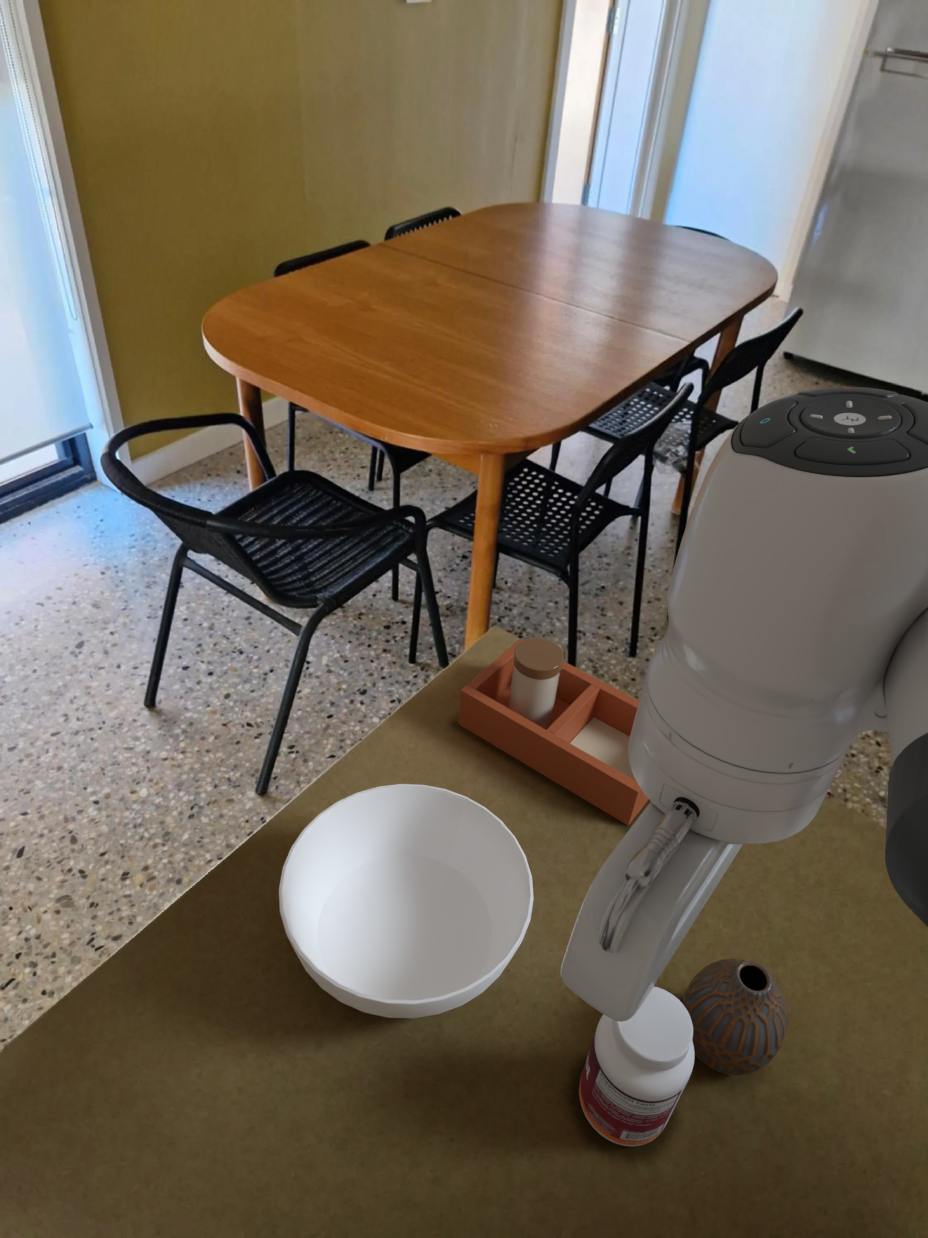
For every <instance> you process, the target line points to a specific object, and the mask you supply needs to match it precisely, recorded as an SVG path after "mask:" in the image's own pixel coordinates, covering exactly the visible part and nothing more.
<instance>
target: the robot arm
mask: <svg viewBox="0 0 928 1238" xmlns="http://www.w3.org/2000/svg"><path fill="white" fill-rule="evenodd" d="M666 609H667V610H666V611H667V618H668V619H667V620H668V623H667V624H668V625H667V630H666V632H665V634H664V636H663V637H662V638H661V639H660V641H659V642H658V644H657V645H656V647H655V648H654V650H653V652H652V654H651V657H650V660H649V662H648V666H647V667H646V672H645V676H644V681H643V684H642V689H641V692H640V696H639V700H638V701H639V703H638V707H637V711H636V715H635V719H634V723H633V726H632V730H631V734H630V738H629V743H628V758H629V764H630V767H631V770H632V773H633V775H634V777H635V780H636V781H637V783H638V785H639V787H640V788H641V789H642V791H643V792H644V794H645V795H646V796H647V797H648V798H649V800H648V801H650V802H649V803H648V804H647V805H646V807H645V808H644V810H643V811H642V812H641V814H640V815H639V816H638V817H637V818H636V820H635V821H634V823H633V824H632V825H631V826H630V828H629V829H628V831H627V832H625V834H624V836H623V837H622V838H621V840H619V842H618V844H617V845H616V846H615V847H614V848H613V849H612V851H611V852H610V853H609V855H608V857H607V858H606V859H605V861H604V863H602V865H601V867H600V868H599V869H598V872H597V874H596V875H595V877H594V879H593V880H592V882H591V884H590V886H589V888H588V890H587V893H586V895H585V896H584V899H583V901H582V903H581V906H580V908H579V911H578V914H577V916H576V919H575V922H574V925H573V928H572V931H571V934H570V936H569V939H568V943H567V946H566V949H565V952H564V954H563V958H562V962H561V965H560V971H559V972H560V973H559V974H560V979H561V981H562V982H563V984H564V985H565V986H566V987H567V988H568V989H569V990H570V991H571V992H572V993H573V994H575V995H576V996H577V997H578V998H580V999H581V1000H582V1001H584V1002H585V1003H587V1005H589V1006H590V1007H592V1008H593V1009H595V1010H597V1011H598V1012H599V1013H601V1014H602V1015H603V1014H604V1015H606V1016H608V1017H609V1018H611V1019H614V1020H616V1021H620V1022H622V1021H627V1020H629V1019H630V1018H632V1017H633V1016H634V1015H635V1014H636V1012H637V1011H638V1010H639V1008H640V1007H641V1005H642V1004H643V1002H644V1001H645V999H646V997H647V996H648V994H649V993H650V991H651V990H652V988H653V987H655V985H656V983H657V982H658V981H659V979H660V977H661V975H662V974H663V972H664V971H665V969H666V968H667V966H668V964H669V963H670V961H671V960H672V958H673V956H674V955H675V953H676V952H677V950H678V948H679V947H680V946H681V943H682V942H683V940H684V939H685V937H686V936H687V934H688V933H689V931H690V930H691V928H692V926H693V924H694V923H695V921H696V920H697V918H698V916H699V915H700V914H701V912H702V910H703V909H704V907H705V905H706V904H707V903H708V901H709V899H710V898H711V896H712V895H713V893H714V891H715V890H716V888H717V887H718V885H719V883H720V882H721V880H722V879H723V877H724V875H725V874H726V872H727V870H728V869H729V868H730V866H731V864H732V863H733V861H734V859H735V858H736V856H737V855H738V853H739V851H740V850H741V849H742V847H743V845H761V844H762V845H763V844H765V845H766V844H770V843H776V842H779V841H782V840H783V841H784V840H785V839H789V838H791V837H793V836H795V835H797V834H798V833H800V832H801V831H803V830H804V829H805V828H807V826H808V825H809V824H810V823H812V821H813V820H814V818H815V817H816V816H817V814H818V813H819V810H820V808H821V807H822V804H823V802H824V800H825V798H826V796H827V794H828V792H829V789H830V788H831V786H832V783H833V782H834V779H835V778H836V775H837V773H838V771H839V770H840V767H841V765H842V763H843V761H844V759H845V757H846V755H847V754H848V751H849V749H850V748H851V745H852V743H853V741H854V740H855V738H856V737H857V736H859V735H861V734H862V733H865V732H868V731H869V732H870V731H878V732H882V733H886V734H888V743H889V745H888V746H889V755H890V765H891V767H890V771H889V777H888V782H887V783H888V785H887V805H886V827H885V831H886V832H885V844H884V845H885V846H884V848H885V849H884V861H885V868H886V873H887V875H888V878H889V880H890V882H891V885H892V886H893V888H894V890H895V892H896V893H897V895H898V896H899V898H900V899H901V901H903V903H904V904H905V906H906V907H908V909H909V910H911V912H912V913H913V914H914V915H915V916H916V917H917V918H918V919H919V920H920V921H921V923H923V924H924V925H925V926H926V927H927V928H928V402H927V401H925V400H922V399H919V398H916V397H913V396H908V395H904V394H900V393H898V392H897V391H892V390H888V389H887V390H886V389H881V388H875V387H874V388H873V387H863V386H835V387H822V388H813V389H808V390H802V391H800V392H798V393H796V394H791V395H788V396H784V397H781V398H778V399H775V400H772V401H770V402H768V403H766V404H764V405H762V406H760V407H759V408H756V409H755V410H754V411H752V412H751V413H750V414H748V415H747V416H745V417H744V418H743V419H741V421H739V423H738V424H737V425H736V426H735V427H734V428H733V429H732V430H731V432H730V433H729V434H728V435H727V437H726V438H725V440H724V441H723V442H722V444H721V446H719V448H718V450H717V452H716V454H715V455H714V457H713V459H712V461H711V463H710V465H709V466H708V469H707V471H706V473H705V475H704V477H703V480H702V482H701V485H700V487H699V490H698V492H697V495H696V497H695V500H694V503H693V505H692V508H691V511H690V514H689V518H688V520H687V523H686V526H685V529H684V532H683V535H682V537H681V541H680V545H679V548H678V551H677V555H676V558H675V562H674V565H673V569H672V573H671V577H670V580H669V584H668V590H667V597H666Z"/></svg>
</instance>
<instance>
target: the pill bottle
mask: <svg viewBox="0 0 928 1238" xmlns="http://www.w3.org/2000/svg"><path fill="white" fill-rule="evenodd" d="M692 1038H693V1025H692V1021H691V1018H690V1015H689V1013H688V1011H687V1009H686V1008H685V1006H684V1005H683V1004H682V1001H681V1000H680V999H679V998H677V997H676V996H675V995H674V994H672V993H671V992H669V991H668V990H666V989H663V988H661V987H658V986H653V988H652V990H651V991H650V993H649V994H648V996H647V997H646V999H645V1001H644V1002H643V1004H642V1005H641V1007H640V1008H639V1010H638V1011H637V1012H636V1014H635V1015H634V1016H633V1017H632V1018H630V1019H629V1020H627V1021H622V1022H620V1021H616V1020H614V1019H611V1018H609V1017H608V1016H606V1015H604V1014H603V1013H602V1015H601V1016H600V1019H599V1020H598V1024H597V1026H596V1029H595V1032H594V1035H593V1039H592V1041H591V1044H590V1047H589V1050H588V1054H587V1056H586V1060H585V1063H584V1066H583V1069H582V1072H581V1075H580V1081H579V1087H578V1095H579V1102H580V1105H581V1109H582V1112H583V1115H584V1116H585V1118H586V1120H587V1121H588V1123H589V1124H590V1126H591V1127H592V1128H593V1129H594V1130H595V1131H596V1132H597V1134H599V1135H600V1136H601V1137H603V1138H604V1139H605V1140H607V1141H608V1142H611V1143H613V1144H616V1145H619V1146H623V1147H639V1146H643V1145H646V1144H649V1143H651V1142H652V1141H653V1140H655V1139H656V1138H658V1137H659V1136H660V1135H661V1133H662V1132H663V1130H664V1129H665V1128H666V1127H667V1124H668V1123H669V1121H670V1119H671V1117H672V1114H673V1112H674V1111H675V1109H676V1106H677V1104H678V1103H679V1100H680V1098H681V1096H682V1094H683V1092H684V1090H685V1089H686V1086H687V1085H688V1082H689V1080H690V1079H691V1076H692V1072H693V1070H694V1069H693V1068H694V1065H695V1053H694V1045H693V1041H692Z"/></svg>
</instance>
